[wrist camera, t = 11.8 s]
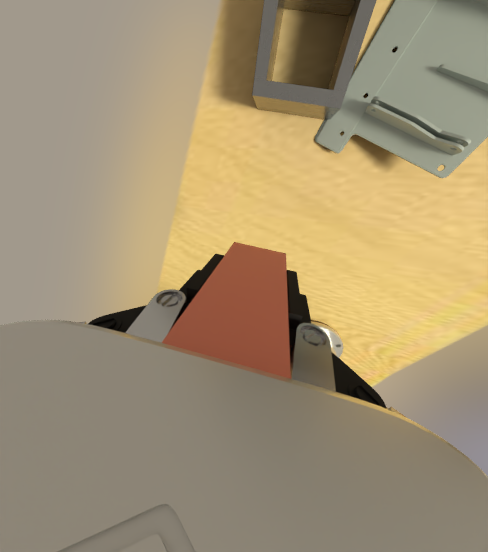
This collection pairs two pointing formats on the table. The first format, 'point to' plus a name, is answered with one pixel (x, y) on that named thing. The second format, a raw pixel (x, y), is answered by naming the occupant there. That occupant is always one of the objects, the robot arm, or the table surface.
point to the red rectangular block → (240, 312)
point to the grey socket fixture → (327, 102)
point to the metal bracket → (420, 85)
